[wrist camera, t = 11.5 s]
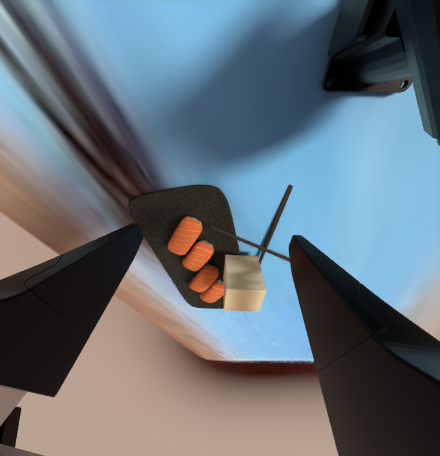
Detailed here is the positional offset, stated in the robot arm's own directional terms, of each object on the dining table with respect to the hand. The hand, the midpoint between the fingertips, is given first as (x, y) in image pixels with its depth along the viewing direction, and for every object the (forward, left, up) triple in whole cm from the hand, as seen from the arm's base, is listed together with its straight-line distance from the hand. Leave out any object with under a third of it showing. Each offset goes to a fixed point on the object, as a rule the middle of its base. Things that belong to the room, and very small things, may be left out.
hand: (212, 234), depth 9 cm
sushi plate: (-4, +15, -13) cm, 20 cm away
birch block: (-3, +15, -10) cm, 18 cm away
